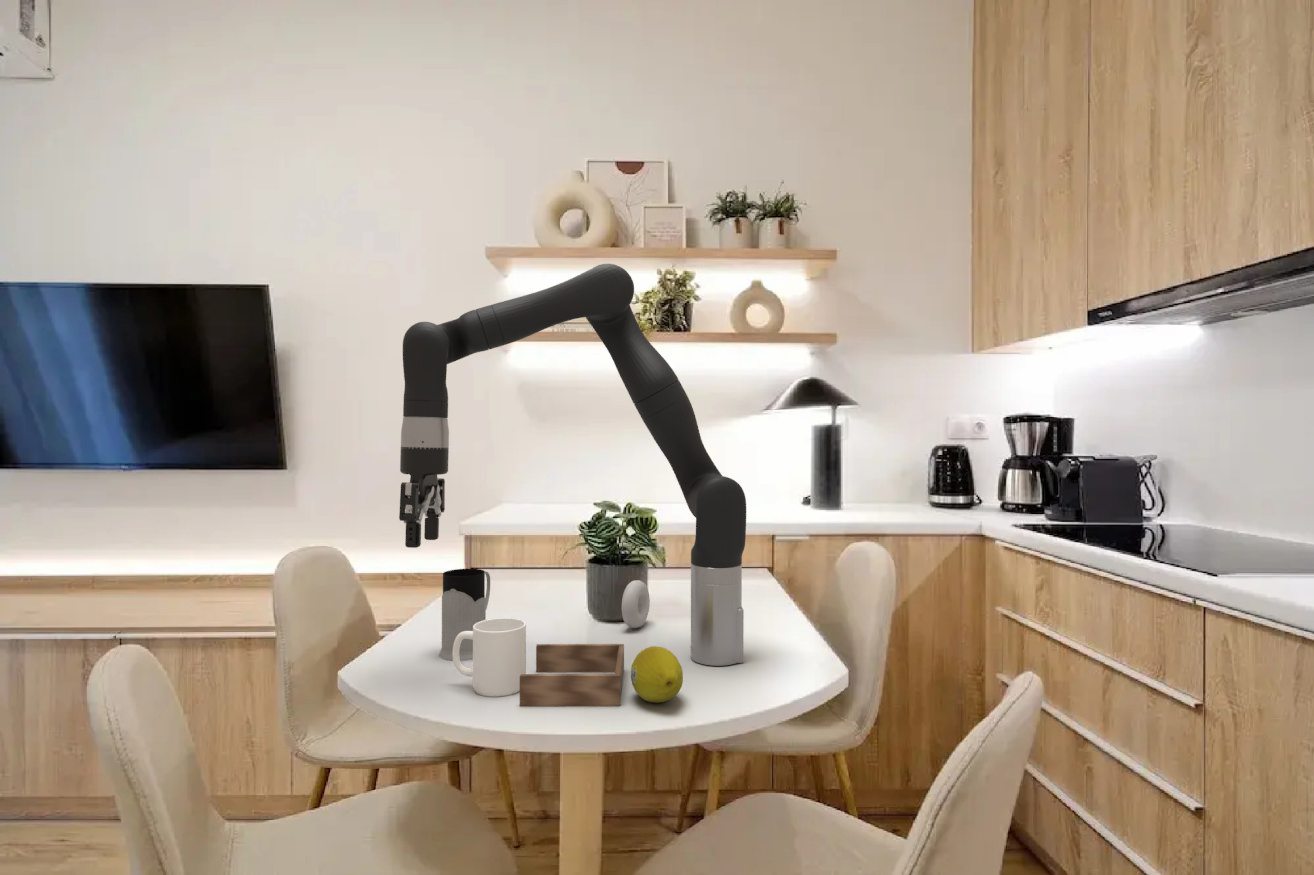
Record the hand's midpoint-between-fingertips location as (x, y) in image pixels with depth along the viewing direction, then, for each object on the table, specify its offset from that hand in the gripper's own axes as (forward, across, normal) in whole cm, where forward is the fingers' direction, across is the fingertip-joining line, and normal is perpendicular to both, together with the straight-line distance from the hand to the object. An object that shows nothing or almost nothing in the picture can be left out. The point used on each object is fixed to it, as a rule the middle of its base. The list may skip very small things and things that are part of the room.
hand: (422, 543), depth 112 cm
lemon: (+22, -8, -39) cm, 46 cm away
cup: (+23, -3, -12) cm, 26 cm away
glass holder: (+23, +17, -4) cm, 29 cm away
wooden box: (+22, -2, -26) cm, 34 cm away
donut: (+22, +32, -34) cm, 52 cm away
